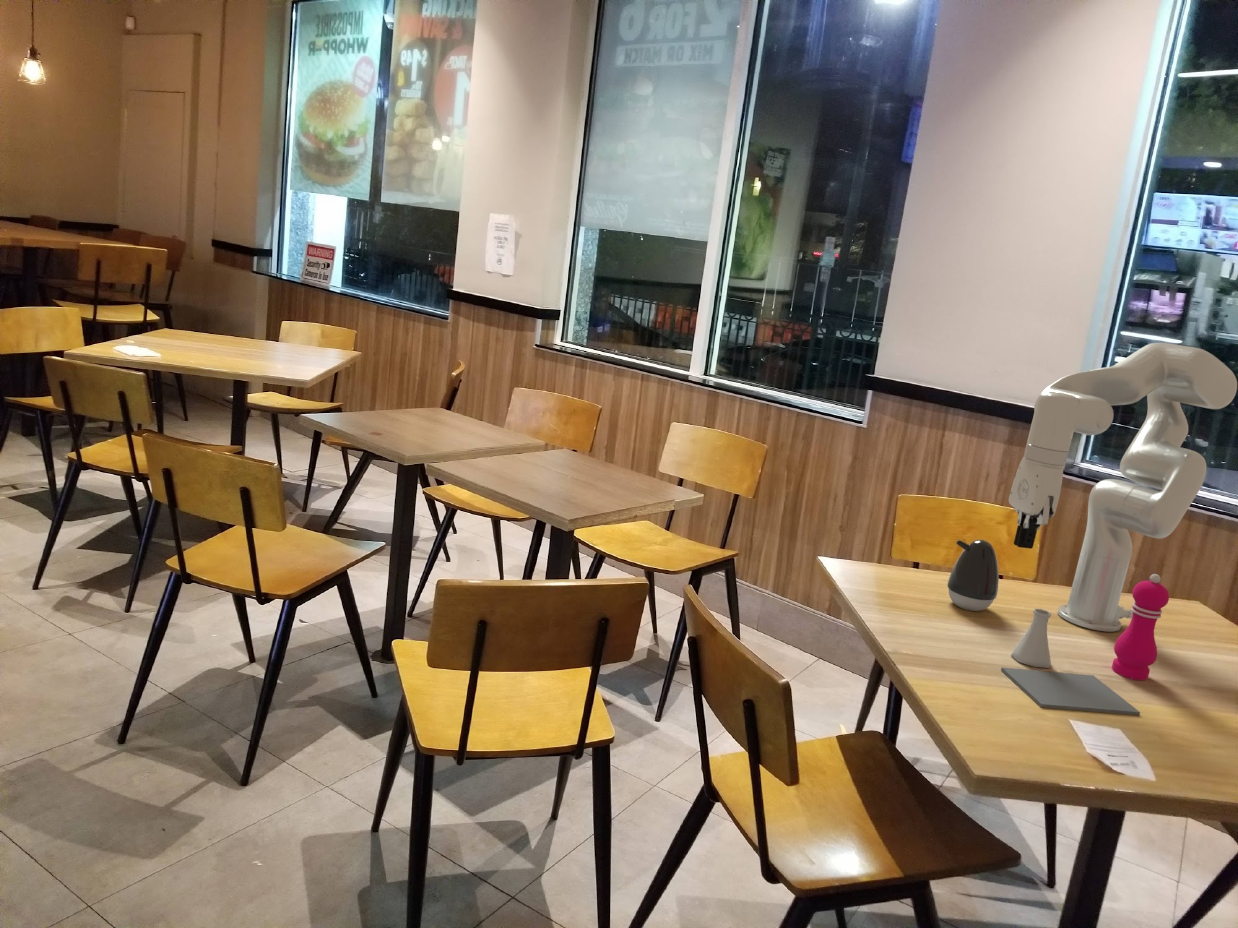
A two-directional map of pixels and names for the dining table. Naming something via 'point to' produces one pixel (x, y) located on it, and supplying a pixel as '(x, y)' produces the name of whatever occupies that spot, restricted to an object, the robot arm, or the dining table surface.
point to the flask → (1035, 642)
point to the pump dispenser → (974, 576)
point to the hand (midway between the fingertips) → (1022, 546)
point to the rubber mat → (1069, 691)
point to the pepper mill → (1141, 631)
